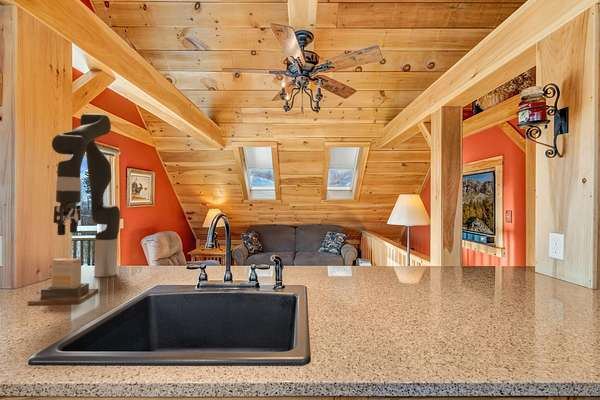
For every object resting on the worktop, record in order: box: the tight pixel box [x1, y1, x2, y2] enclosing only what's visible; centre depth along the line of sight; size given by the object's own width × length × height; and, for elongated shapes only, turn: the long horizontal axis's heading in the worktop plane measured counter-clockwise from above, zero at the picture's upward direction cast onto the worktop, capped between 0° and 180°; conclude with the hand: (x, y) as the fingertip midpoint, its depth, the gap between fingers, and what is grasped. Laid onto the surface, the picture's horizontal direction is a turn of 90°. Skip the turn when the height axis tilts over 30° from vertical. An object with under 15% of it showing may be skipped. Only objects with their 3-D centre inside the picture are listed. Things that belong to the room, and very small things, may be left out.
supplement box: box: [51, 257, 82, 289], centre depth 128 cm, size 8×5×13 cm, turn 86°
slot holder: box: [27, 282, 99, 306], centre depth 128 cm, size 16×16×4 cm
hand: (67, 233), depth 128 cm, fingers open, 8 cm apart
